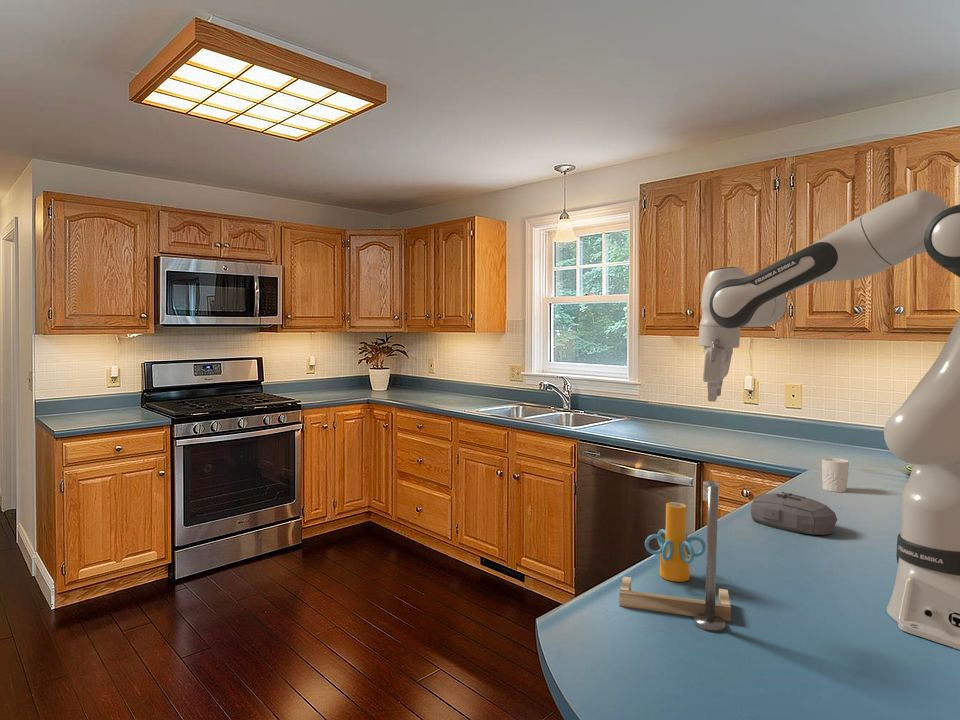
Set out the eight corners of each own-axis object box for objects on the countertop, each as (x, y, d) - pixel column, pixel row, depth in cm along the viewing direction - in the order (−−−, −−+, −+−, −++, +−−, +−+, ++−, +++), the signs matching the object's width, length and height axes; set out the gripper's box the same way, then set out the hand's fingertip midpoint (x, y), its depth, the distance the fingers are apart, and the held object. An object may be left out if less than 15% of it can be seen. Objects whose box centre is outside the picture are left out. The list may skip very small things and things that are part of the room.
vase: (662, 562, 135) (663, 494, 135) (709, 574, 129) (711, 503, 128) (637, 579, 126) (639, 506, 125) (688, 592, 119) (689, 516, 119)
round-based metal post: (693, 603, 115) (696, 475, 114) (722, 607, 113) (725, 477, 112) (694, 629, 104) (698, 488, 104) (726, 633, 103) (730, 491, 102)
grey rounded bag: (744, 523, 166) (823, 542, 151) (744, 492, 166) (824, 508, 151) (769, 513, 176) (846, 530, 161) (770, 484, 176) (847, 498, 160)
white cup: (848, 489, 205) (849, 459, 204) (847, 494, 198) (848, 463, 198) (821, 485, 209) (822, 456, 209) (819, 490, 202) (820, 460, 202)
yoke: (623, 589, 121) (623, 576, 121) (727, 602, 115) (727, 589, 115) (619, 605, 113) (619, 592, 113) (730, 621, 107) (730, 607, 107)
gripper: (729, 341, 131) (724, 406, 132) (736, 338, 149) (732, 394, 151) (698, 339, 134) (693, 402, 135) (709, 336, 152) (705, 391, 153)
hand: (714, 398), depth 143 cm, fingers open, 8 cm apart
